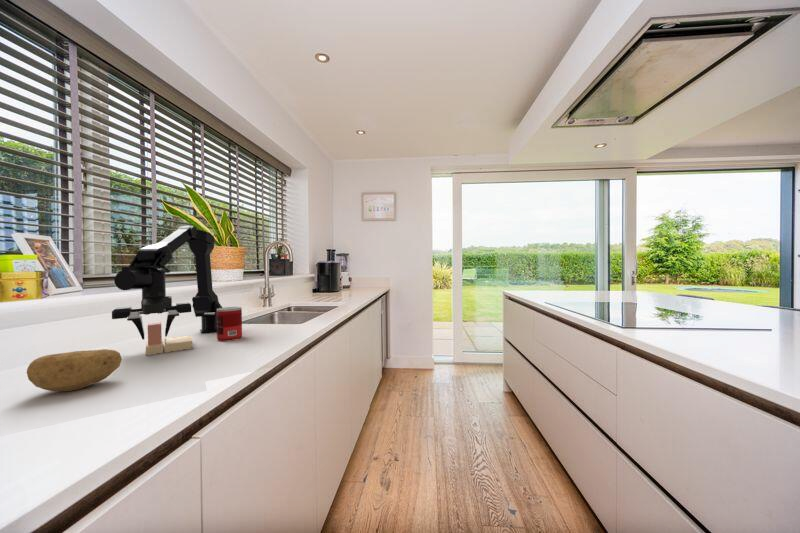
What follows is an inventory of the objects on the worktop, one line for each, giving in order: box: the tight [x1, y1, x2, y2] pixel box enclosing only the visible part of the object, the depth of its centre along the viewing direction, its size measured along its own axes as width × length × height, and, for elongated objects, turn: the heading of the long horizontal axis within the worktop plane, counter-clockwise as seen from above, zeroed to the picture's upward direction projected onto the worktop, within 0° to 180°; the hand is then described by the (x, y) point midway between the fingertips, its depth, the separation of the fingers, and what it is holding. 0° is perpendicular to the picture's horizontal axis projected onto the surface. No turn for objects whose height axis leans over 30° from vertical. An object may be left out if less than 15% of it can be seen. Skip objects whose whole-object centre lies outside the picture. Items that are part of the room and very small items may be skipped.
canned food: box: [216, 306, 243, 342], centre depth 107 cm, size 8×8×11 cm
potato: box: [26, 348, 123, 392], centre depth 64 cm, size 10×14×8 cm
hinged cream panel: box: [163, 335, 194, 353], centre depth 96 cm, size 10×7×3 cm
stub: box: [145, 321, 164, 356], centre depth 93 cm, size 10×4×8 cm, turn 38°
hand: (154, 337), depth 93 cm, fingers open, 5 cm apart
